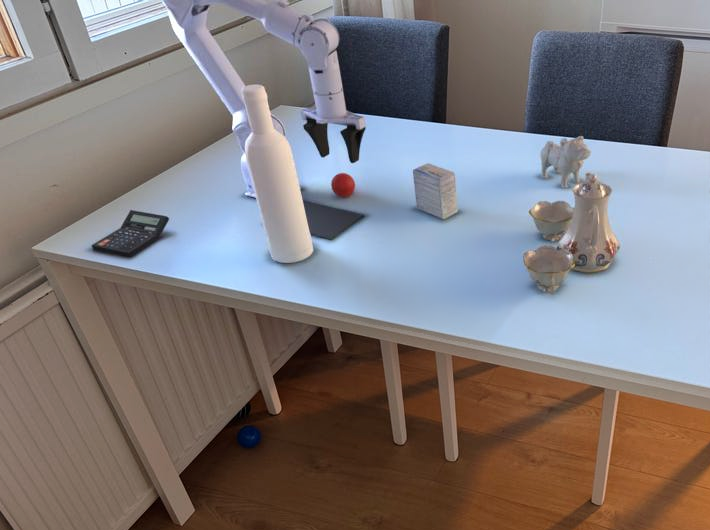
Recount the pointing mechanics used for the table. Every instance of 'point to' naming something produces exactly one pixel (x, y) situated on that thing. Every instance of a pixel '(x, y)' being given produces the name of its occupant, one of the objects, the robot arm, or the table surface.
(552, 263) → the chinaware
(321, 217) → the mat
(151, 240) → the calculator
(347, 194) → the ball
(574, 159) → the dog figurine
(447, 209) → the grey streaked block
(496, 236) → the table surface
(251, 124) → the bottle
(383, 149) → the table surface
